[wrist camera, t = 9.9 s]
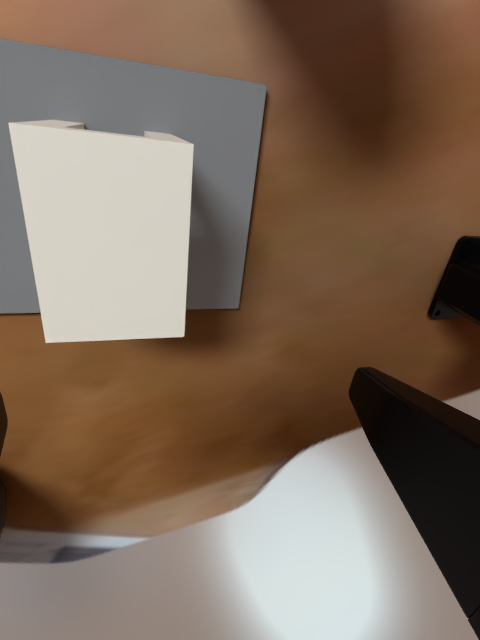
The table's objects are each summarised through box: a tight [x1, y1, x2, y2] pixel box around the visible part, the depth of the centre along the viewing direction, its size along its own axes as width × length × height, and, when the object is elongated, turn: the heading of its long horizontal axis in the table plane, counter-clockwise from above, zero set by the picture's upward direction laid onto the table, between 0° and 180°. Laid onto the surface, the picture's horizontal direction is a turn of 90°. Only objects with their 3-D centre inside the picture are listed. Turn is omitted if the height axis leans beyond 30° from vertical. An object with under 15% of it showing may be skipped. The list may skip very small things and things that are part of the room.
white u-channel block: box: [8, 120, 194, 343], centre depth 15 cm, size 5×7×7 cm
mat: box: [0, 38, 267, 314], centre depth 18 cm, size 14×12×1 cm
